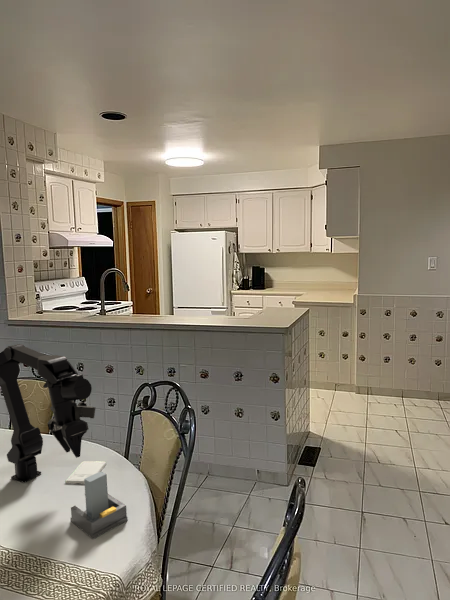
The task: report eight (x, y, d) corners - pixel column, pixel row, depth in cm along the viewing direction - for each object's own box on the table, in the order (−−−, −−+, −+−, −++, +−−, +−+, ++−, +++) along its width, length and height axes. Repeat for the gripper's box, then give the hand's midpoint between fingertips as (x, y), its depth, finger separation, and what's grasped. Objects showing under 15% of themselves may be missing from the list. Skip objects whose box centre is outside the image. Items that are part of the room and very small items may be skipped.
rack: (70, 521, 116) (69, 504, 115) (104, 504, 123) (103, 488, 122) (93, 539, 108) (91, 521, 107) (127, 520, 115) (126, 503, 115)
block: (86, 519, 114) (84, 479, 113) (103, 510, 118) (100, 471, 117) (92, 522, 113) (89, 482, 112) (108, 513, 117) (106, 473, 115)
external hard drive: (106, 466, 146) (91, 485, 134) (82, 465, 147) (65, 485, 135) (106, 461, 146) (90, 480, 134) (82, 460, 147) (64, 480, 135)
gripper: (100, 394, 124) (111, 449, 124) (79, 391, 139) (89, 440, 139) (60, 406, 117) (72, 464, 117) (42, 402, 132) (53, 453, 132)
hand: (73, 454), depth 127 cm, fingers open, 9 cm apart
